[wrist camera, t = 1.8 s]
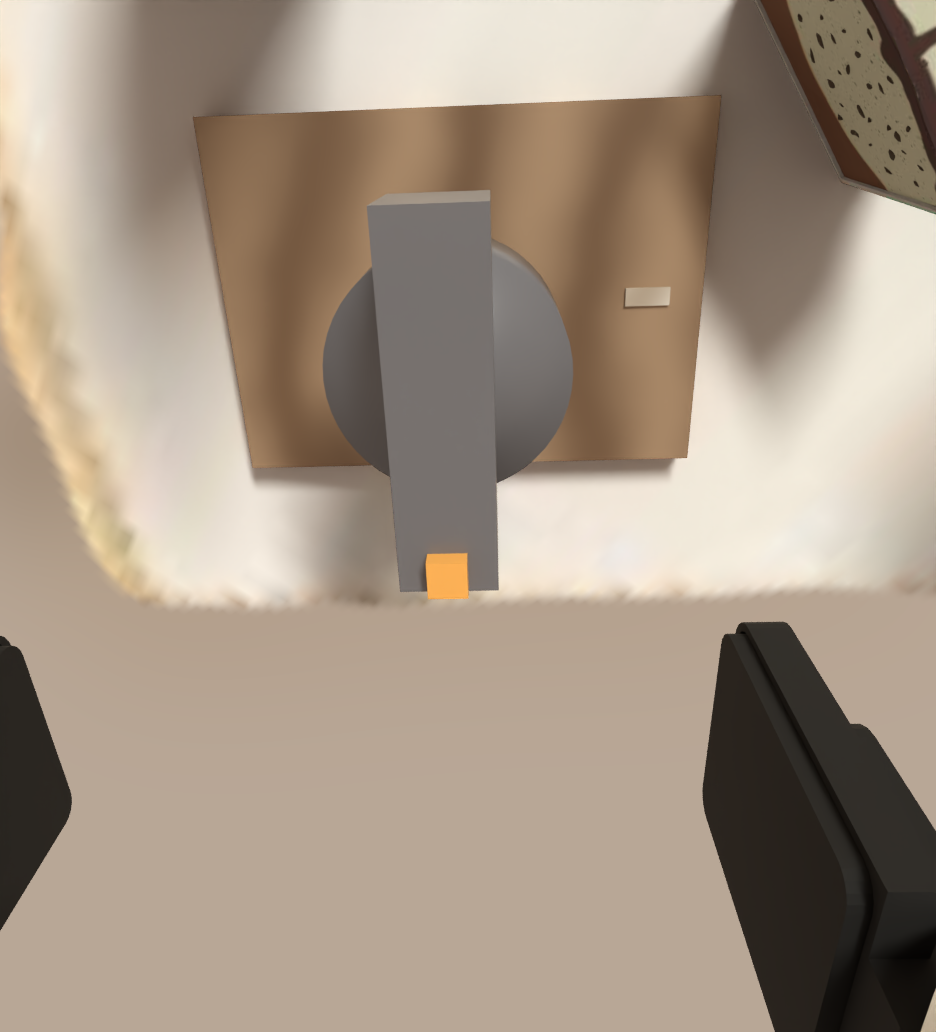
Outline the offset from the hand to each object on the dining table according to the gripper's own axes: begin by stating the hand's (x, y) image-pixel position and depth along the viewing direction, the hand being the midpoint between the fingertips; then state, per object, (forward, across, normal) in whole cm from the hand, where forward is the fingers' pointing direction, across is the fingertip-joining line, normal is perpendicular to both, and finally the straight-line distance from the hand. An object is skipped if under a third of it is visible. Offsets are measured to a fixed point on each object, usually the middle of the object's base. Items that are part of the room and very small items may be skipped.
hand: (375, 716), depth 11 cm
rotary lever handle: (+20, 0, 0) cm, 20 cm away
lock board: (+30, 0, 0) cm, 30 cm away
